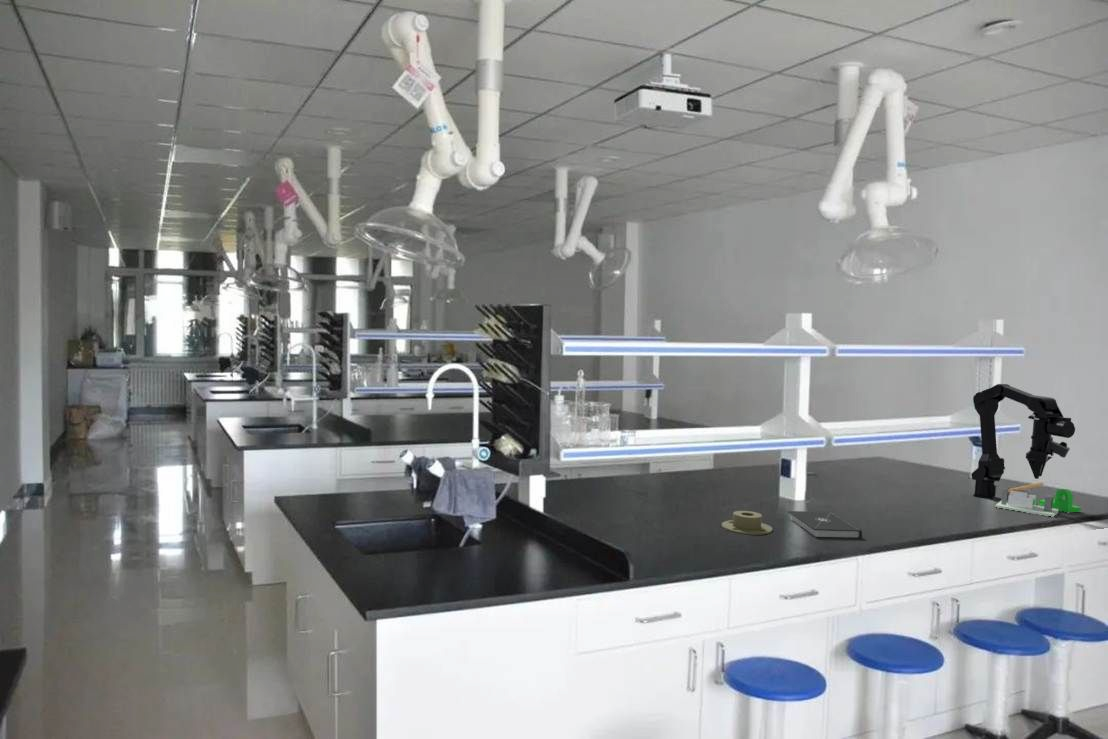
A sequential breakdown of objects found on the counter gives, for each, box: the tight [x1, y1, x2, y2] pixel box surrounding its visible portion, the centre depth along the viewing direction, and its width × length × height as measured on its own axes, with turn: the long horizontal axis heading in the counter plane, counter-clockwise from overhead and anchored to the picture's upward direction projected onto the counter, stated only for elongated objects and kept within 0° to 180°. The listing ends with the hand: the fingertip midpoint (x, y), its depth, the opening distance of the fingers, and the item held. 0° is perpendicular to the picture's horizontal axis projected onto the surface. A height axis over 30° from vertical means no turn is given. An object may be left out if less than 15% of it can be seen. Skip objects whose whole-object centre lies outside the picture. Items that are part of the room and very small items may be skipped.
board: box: [995, 500, 1060, 518], centre depth 291 cm, size 18×12×1 cm, turn 52°
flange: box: [721, 510, 773, 536], centre depth 250 cm, size 5×15×15 cm
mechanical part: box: [1038, 488, 1082, 513], centre depth 295 cm, size 12×6×8 cm, turn 16°
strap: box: [1008, 481, 1044, 493], centre depth 291 cm, size 13×3×1 cm, turn 51°
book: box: [787, 510, 863, 539], centre depth 253 cm, size 22×15×3 cm
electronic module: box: [1000, 486, 1054, 512], centre depth 291 cm, size 15×7×6 cm, turn 52°
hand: (1038, 477), depth 288 cm, fingers open, 6 cm apart
